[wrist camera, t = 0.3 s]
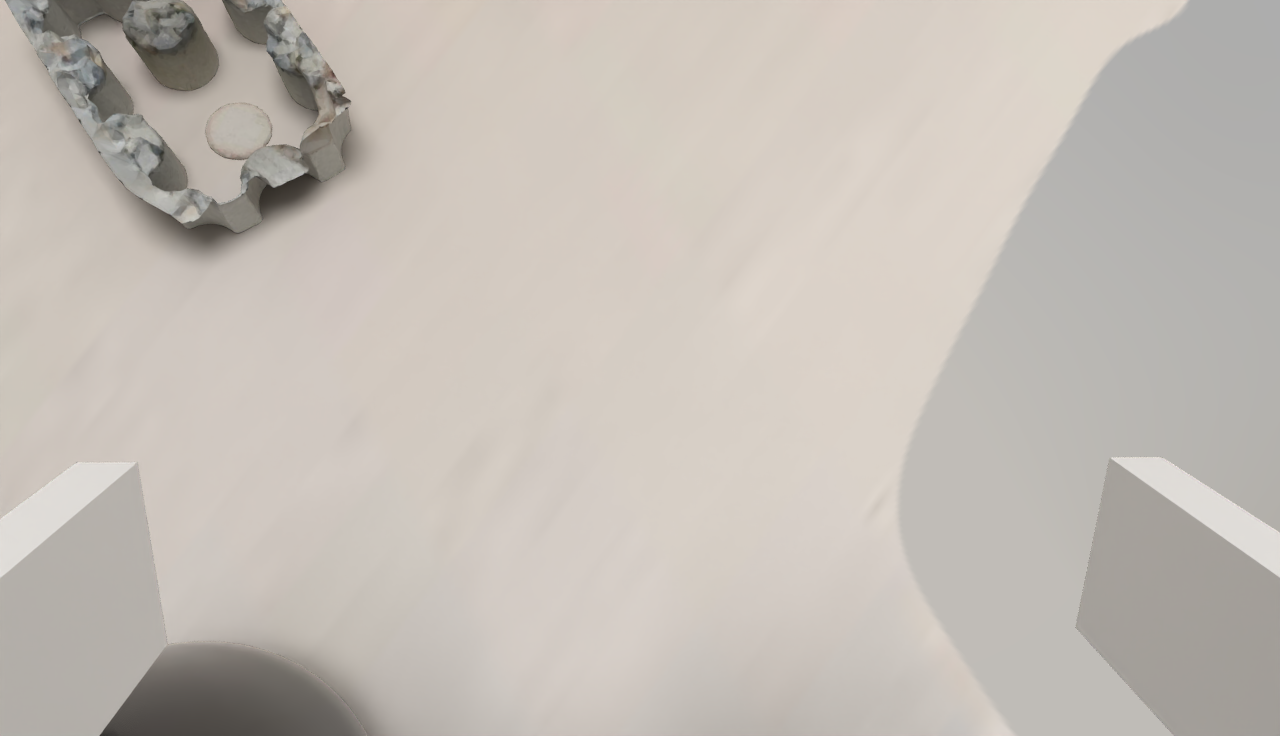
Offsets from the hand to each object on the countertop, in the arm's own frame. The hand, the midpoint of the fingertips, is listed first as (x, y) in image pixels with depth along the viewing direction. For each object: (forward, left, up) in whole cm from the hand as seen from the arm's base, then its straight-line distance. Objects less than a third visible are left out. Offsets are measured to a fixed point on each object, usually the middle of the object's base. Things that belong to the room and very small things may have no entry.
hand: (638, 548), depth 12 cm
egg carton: (+15, +15, -17) cm, 28 cm away
